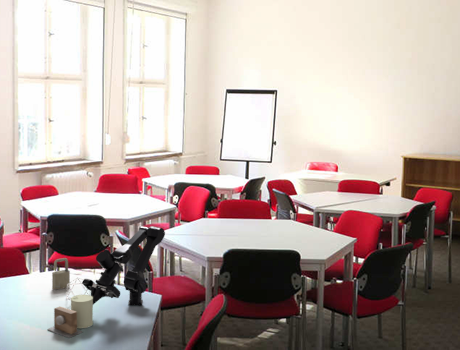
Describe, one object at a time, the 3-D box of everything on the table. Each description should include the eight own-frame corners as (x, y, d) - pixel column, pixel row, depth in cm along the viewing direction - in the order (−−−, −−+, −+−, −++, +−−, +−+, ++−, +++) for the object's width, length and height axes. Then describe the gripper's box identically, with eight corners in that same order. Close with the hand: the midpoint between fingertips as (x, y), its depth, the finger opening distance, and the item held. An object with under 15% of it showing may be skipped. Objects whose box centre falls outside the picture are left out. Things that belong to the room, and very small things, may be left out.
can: (71, 320, 250) (71, 293, 249) (93, 319, 252) (93, 293, 251) (70, 329, 241) (70, 301, 240) (92, 327, 243) (93, 300, 242)
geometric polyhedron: (91, 303, 272) (91, 284, 271) (67, 305, 269) (67, 285, 268) (89, 295, 284) (89, 276, 283) (66, 296, 281) (66, 278, 280)
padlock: (51, 288, 292) (51, 259, 290) (66, 285, 297) (66, 256, 295) (55, 290, 289) (55, 260, 287) (70, 287, 294) (70, 258, 292)
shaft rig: (62, 324, 246) (62, 303, 245) (83, 331, 239) (84, 310, 238) (47, 330, 239) (47, 309, 238) (69, 338, 232) (69, 316, 231)
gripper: (133, 288, 258) (115, 319, 250) (103, 280, 268) (84, 309, 260) (122, 274, 250) (102, 306, 242) (91, 266, 260) (71, 296, 252)
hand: (90, 305), depth 249 cm, fingers closed, pressing on can
